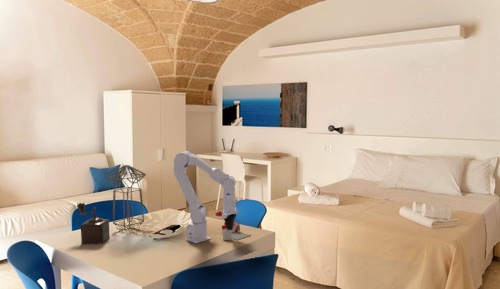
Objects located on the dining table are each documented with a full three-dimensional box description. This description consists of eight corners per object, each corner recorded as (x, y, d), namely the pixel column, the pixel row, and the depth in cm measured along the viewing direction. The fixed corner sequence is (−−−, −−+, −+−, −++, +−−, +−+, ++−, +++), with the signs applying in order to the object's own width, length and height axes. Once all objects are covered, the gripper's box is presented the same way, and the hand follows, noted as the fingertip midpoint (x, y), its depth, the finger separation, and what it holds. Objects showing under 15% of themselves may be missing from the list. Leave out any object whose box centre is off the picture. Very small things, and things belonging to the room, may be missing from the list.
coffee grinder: (111, 237, 202) (109, 201, 200) (102, 244, 191) (101, 206, 189) (80, 237, 202) (79, 201, 201) (70, 244, 191) (68, 206, 190)
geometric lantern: (150, 229, 215) (148, 164, 212) (126, 236, 202) (124, 167, 199) (130, 224, 224) (128, 162, 221) (106, 231, 210) (104, 165, 208)
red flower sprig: (237, 232, 207) (236, 213, 206) (216, 229, 214) (215, 211, 213) (241, 230, 209) (240, 212, 209) (219, 228, 217) (219, 210, 216)
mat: (237, 240, 195) (237, 239, 195) (222, 236, 202) (222, 235, 202) (250, 235, 202) (250, 235, 202) (236, 231, 209) (236, 231, 209)
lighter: (223, 239, 195) (223, 223, 195) (223, 239, 197) (223, 222, 197) (237, 240, 195) (237, 223, 195) (237, 239, 196) (237, 223, 197)
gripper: (231, 205, 185) (232, 234, 186) (242, 199, 199) (242, 226, 200) (217, 204, 188) (218, 233, 189) (229, 198, 201) (229, 225, 202)
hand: (229, 229), depth 195 cm, fingers closed
